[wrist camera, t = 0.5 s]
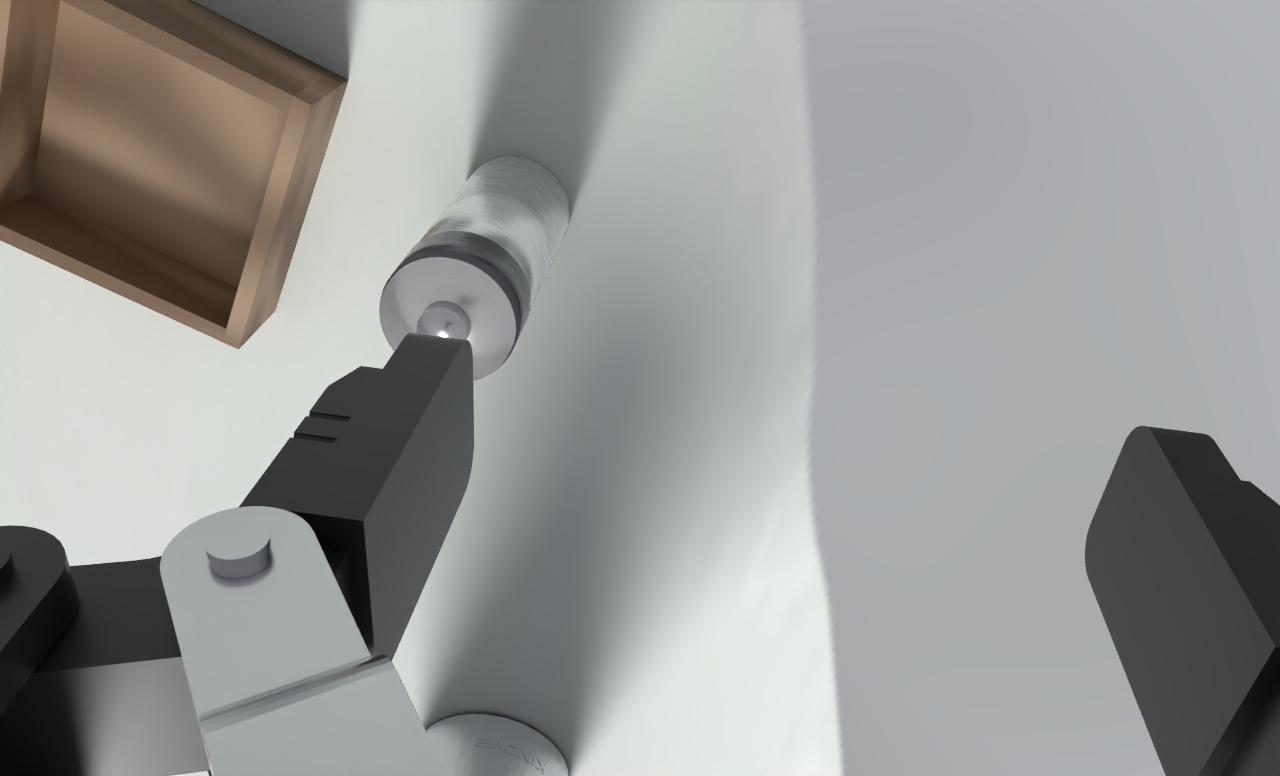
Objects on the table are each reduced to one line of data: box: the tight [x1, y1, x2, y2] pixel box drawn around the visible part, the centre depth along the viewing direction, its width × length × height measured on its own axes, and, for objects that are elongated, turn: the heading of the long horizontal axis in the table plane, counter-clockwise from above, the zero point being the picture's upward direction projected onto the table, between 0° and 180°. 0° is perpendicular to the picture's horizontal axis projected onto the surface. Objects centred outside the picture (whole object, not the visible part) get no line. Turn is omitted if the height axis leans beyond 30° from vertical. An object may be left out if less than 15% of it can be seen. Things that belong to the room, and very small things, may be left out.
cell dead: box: [380, 156, 570, 381], centre depth 36 cm, size 4×4×11 cm
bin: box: [0, 0, 348, 349], centre depth 39 cm, size 11×11×4 cm
